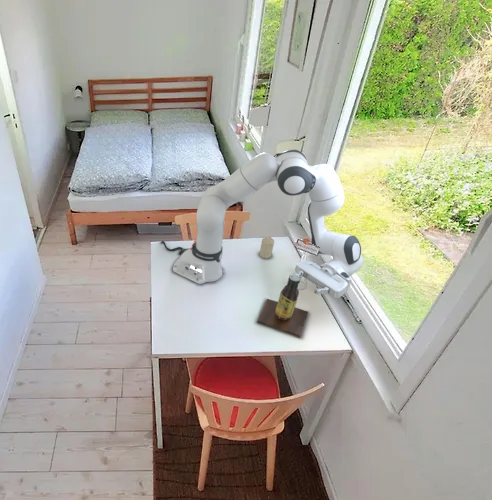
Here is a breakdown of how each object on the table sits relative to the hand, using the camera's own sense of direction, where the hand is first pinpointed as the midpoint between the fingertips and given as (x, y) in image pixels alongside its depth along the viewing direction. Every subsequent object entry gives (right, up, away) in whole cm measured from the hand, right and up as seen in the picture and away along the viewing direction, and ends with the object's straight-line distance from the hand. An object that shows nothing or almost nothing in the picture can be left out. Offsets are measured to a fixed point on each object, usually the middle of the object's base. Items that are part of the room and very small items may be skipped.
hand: (306, 285), depth 145 cm
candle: (-4, +11, +38) cm, 39 cm away
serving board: (-8, -13, +4) cm, 16 cm away
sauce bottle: (-8, -12, +3) cm, 15 cm away
